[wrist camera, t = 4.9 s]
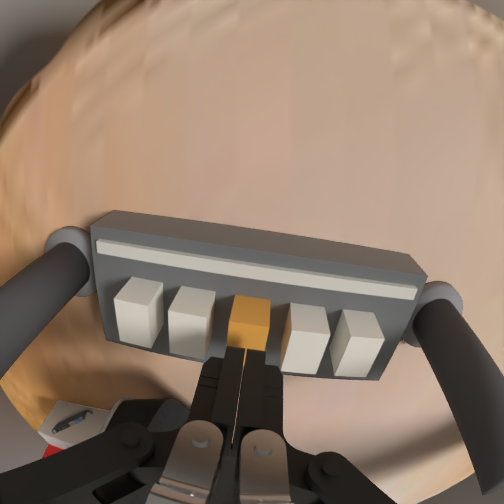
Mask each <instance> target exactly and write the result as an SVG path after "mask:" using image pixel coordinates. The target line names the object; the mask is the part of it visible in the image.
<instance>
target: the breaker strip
mask: <svg viewBox="0 0 504 504" xmlns="http://www.w3.org/2000/svg"><path fill="white" fill-rule="evenodd" d="M90 231H91V243H92V254H93V263H94V272H95V280H96V287H97V294H98V300H99V306H100V312H101V318H102V323H103V328H104V333H105V338H106V340H108V341H112V342H115V343H119V344H123V345H126V346H130V347H134V348H138V349H142V350H146V351H150V352H155V353H159V354H163V355H168V356H172V357H177V358H182V359H187V360H192V361H197V362H202V363H205V362H206V361H207V360H208V359H209V358H210V357H211V356H213V357H219V358H224V356H225V351H226V347H227V346H234V347H240V348H245V356H244V363H243V369H244V364H245V358H246V352H247V348H248V349H254V350H262V351H266V359H265V364H266V365H274V366H278V368H279V370H280V371H281V373H282V374H283V375H293V376H303V377H315V378H329V379H347V380H378V381H379V379H380V377H381V376H382V374H383V372H384V370H385V368H386V366H387V365H388V363H389V361H390V359H391V357H392V355H393V353H394V351H395V349H396V347H397V345H398V343H399V341H400V339H401V337H402V335H403V333H404V331H405V329H406V327H407V324H408V322H409V320H410V318H411V316H412V313H413V311H414V309H415V307H416V304H417V302H418V300H419V297H420V295H421V292H422V290H423V287H424V285H425V282H426V280H427V277H428V276H427V274H426V273H425V272H424V271H423V270H422V269H421V267H420V266H419V265H418V264H417V263H416V262H415V260H414V259H413V258H412V257H411V256H410V255H409V254H404V253H399V252H393V251H388V250H382V249H376V248H370V247H364V246H358V245H352V244H347V243H340V242H334V241H328V240H322V239H316V238H310V237H303V236H297V235H291V234H284V233H278V232H271V231H264V230H258V229H251V228H244V227H237V226H230V225H223V224H216V223H209V222H202V221H195V220H187V219H180V218H172V217H165V216H157V215H149V214H141V213H133V212H125V211H117V210H114V211H112V212H111V213H109V214H107V215H106V216H104V217H103V218H101V219H99V220H98V221H96V222H95V223H93V224H92V225H90Z"/></svg>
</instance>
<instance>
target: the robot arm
mask: <svg viewBox="0 0 504 504" xmlns="http://www.w3.org/2000/svg"><path fill="white" fill-rule="evenodd" d="M244 356H245V348H240V347H234V346H227V347H226V351H225V356H224V358H219V357H213V356H211V357H210V358H209V359H208V360H207V361H206V362H205V363H204V364H203V367H202V370H201V374H200V377H199V381H198V385H197V388H196V391H195V395H194V398H193V402H192V406H191V409H190V413H189V416H188V419H187V421H186V422H185V423H184V424H183V425H182V426H181V427H179V428H178V429H175V430H172V431H166V432H149V430H148V429H147V428H146V427H144V426H143V425H141V424H138V423H134V422H125V423H122V424H119V425H117V426H115V427H113V428H111V429H109V430H107V431H104V432H102V433H100V434H98V435H96V436H94V437H92V438H89V439H87V440H85V441H83V442H80V443H78V444H76V445H74V446H71V447H69V448H67V449H64V450H62V451H60V452H57V453H55V454H52V455H50V456H47V457H45V458H42V459H40V460H37V461H35V462H32V463H29V464H27V465H24V466H21V467H18V468H16V469H13V470H10V471H7V472H4V473H1V474H0V504H122V503H124V502H125V501H127V500H129V499H131V498H133V497H135V496H137V495H139V494H140V493H142V492H144V491H146V490H148V489H149V488H151V487H152V489H151V491H150V493H149V496H148V498H147V501H146V503H145V504H211V501H212V497H213V494H214V490H215V486H216V482H217V479H218V475H219V473H220V471H221V468H222V462H223V456H228V457H229V454H230V448H231V442H232V437H233V431H234V426H235V431H234V438H233V445H232V452H231V457H236V458H237V459H236V467H235V472H234V480H233V504H397V503H396V502H394V501H393V500H392V499H391V498H390V497H388V496H387V495H386V494H385V493H384V492H383V491H381V490H380V489H379V488H378V487H377V486H376V485H375V484H373V483H372V482H371V481H370V480H369V479H368V478H367V477H366V476H364V475H363V474H362V473H361V472H360V471H359V470H358V469H357V468H356V467H355V466H353V465H352V464H351V463H350V462H349V461H348V460H347V459H346V458H345V457H343V456H342V455H340V454H338V453H335V452H322V453H319V454H317V455H316V456H314V455H311V454H308V453H305V452H302V451H299V450H297V449H295V448H293V447H292V446H291V445H290V444H289V443H288V442H287V441H286V439H285V437H284V435H283V375H282V373H281V371H280V370H279V368H278V366H274V365H266V364H265V359H266V351H262V350H254V349H248V348H247V352H246V358H245V364H244V370H243V363H244ZM242 370H243V376H242ZM241 377H242V382H241ZM240 384H241V389H240ZM239 391H240V396H239ZM238 398H239V403H238ZM237 405H238V410H237ZM236 412H237V417H236ZM235 419H236V424H235Z"/></svg>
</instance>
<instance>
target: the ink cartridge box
mask: <svg viewBox="0 0 504 504" xmlns="http://www.w3.org/2000/svg"><path fill="white" fill-rule="evenodd" d="M110 411H111V410H106V409H100V408H95V407H89V406H85V405H80V404H75V403H70V402H66V401H62V400H58V401H57V402H56V404H55V405H54V407H53V408H52V410H51V411H50V413H49V414H48V416H47V417H46V419H45V420H44V422H43V424H42V425H41V427H40V428H39V430H38V433H39V434H40V435H41V436H42V437H43V438H44V439H45V440H46V441H47V442H48V443H49V445H48V447H47V449H46V451H45V453H44V455H43V457H42V458H45V457H47V456H50V455H52V454H55V453H57V452H60V451H62V450H64V449H67V448H69V447H71V446H74V445H76V444H78V443H80V442H83V441H85V440H87V439H89V438H92V437H94V436H96V435H98V434H99V432H100V430H101V428H102V426H103V424H104V422H105V420H106V418H107V416H108V414H109V412H110Z"/></svg>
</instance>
